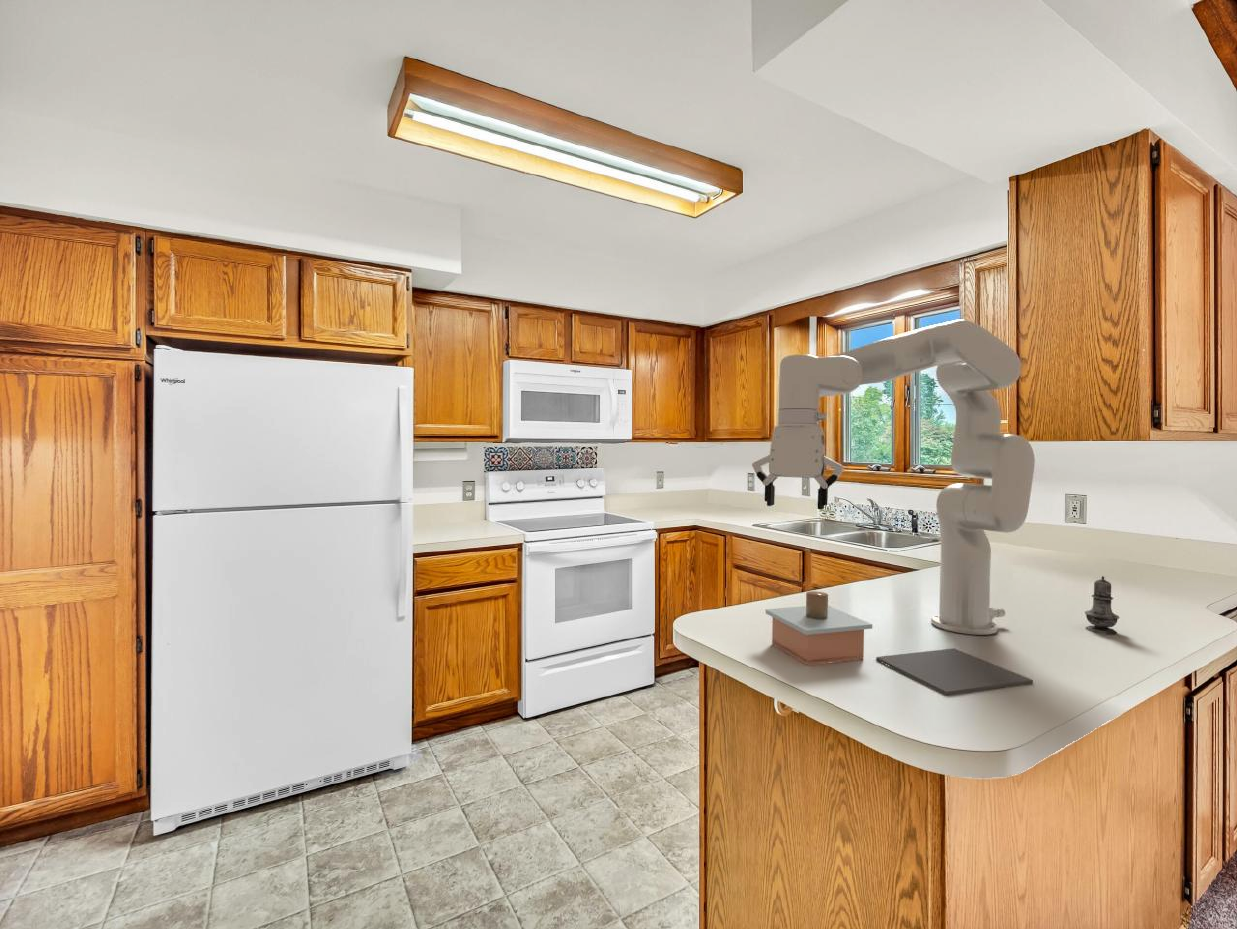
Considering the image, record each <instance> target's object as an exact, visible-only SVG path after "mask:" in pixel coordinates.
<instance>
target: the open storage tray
mask: <svg viewBox="0 0 1237 929" xmlns="http://www.w3.org/2000/svg"><path fill="white" fill-rule="evenodd" d="M771 628H772V633H771V634H772V635H771V640H772V641H771V644H772V645H773V646H775V647H776V648H778V649H779V650H781V651H783V652H785V653H786V654H788V655H789V656H791V657H793V658H794V659H795V660H797V661H799V662H800V663H802V664H804V665H806V666H809V667H810V666H816V664H818V665H823V663H826V664H830V663H829V662H835V663H844V662H852V661H851V660H853V661H859V660H860V661H861V659H862V660H864V657H865V656H864V653H865V652H864V650H865V649H864V648H865V647H864V646H865V629H863V630H853V631H842V632H832V633H821V634H811V635H805V634H804V633H802V632H800V631H798V630H796V629H794V628H792V627H790V626H789V625H787V624H785V623H783V622H781V621H779V620H777V619H775V618H773V617H772V627H771ZM843 661H844V662H843Z"/></svg>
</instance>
